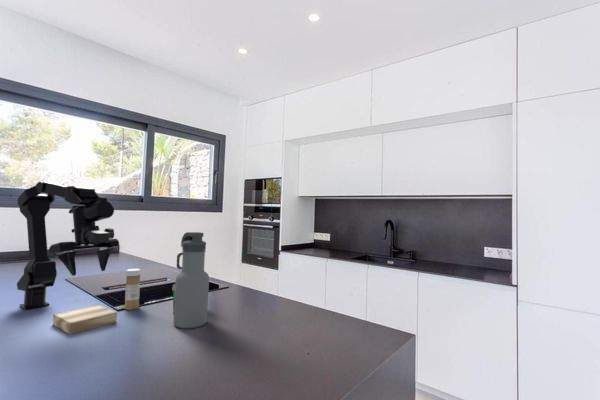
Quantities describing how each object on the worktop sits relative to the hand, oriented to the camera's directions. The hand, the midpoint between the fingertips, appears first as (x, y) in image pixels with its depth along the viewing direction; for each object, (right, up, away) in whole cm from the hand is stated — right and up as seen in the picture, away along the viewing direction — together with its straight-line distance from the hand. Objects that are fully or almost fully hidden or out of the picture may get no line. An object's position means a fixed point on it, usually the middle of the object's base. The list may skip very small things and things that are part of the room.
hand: (89, 273), depth 97 cm
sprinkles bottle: (+8, -15, +10) cm, 20 cm away
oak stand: (+2, -14, -5) cm, 15 cm away
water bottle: (+33, -15, -2) cm, 36 cm away
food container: (+28, -16, +10) cm, 34 cm away
